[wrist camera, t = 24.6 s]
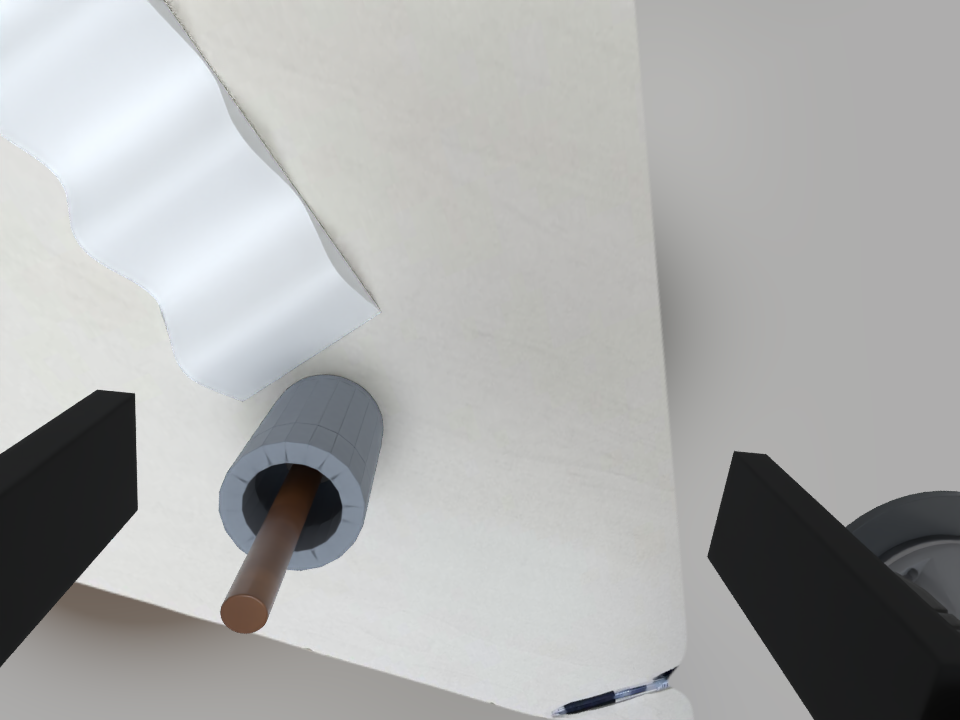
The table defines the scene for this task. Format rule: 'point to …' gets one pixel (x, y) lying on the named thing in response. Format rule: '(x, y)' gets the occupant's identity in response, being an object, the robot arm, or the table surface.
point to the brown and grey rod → (271, 552)
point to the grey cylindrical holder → (320, 445)
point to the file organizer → (174, 188)
